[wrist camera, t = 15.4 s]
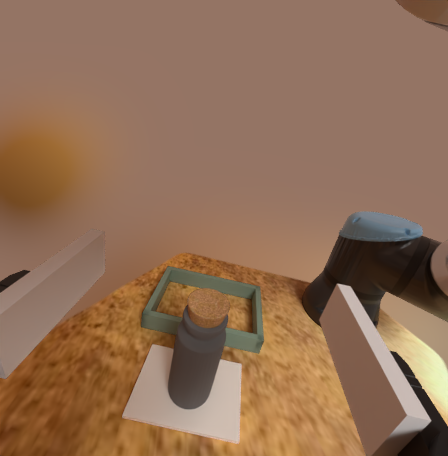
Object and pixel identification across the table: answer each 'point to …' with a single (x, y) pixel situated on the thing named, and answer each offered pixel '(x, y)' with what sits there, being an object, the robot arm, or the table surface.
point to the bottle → (198, 348)
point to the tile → (187, 418)
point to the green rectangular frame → (222, 285)
